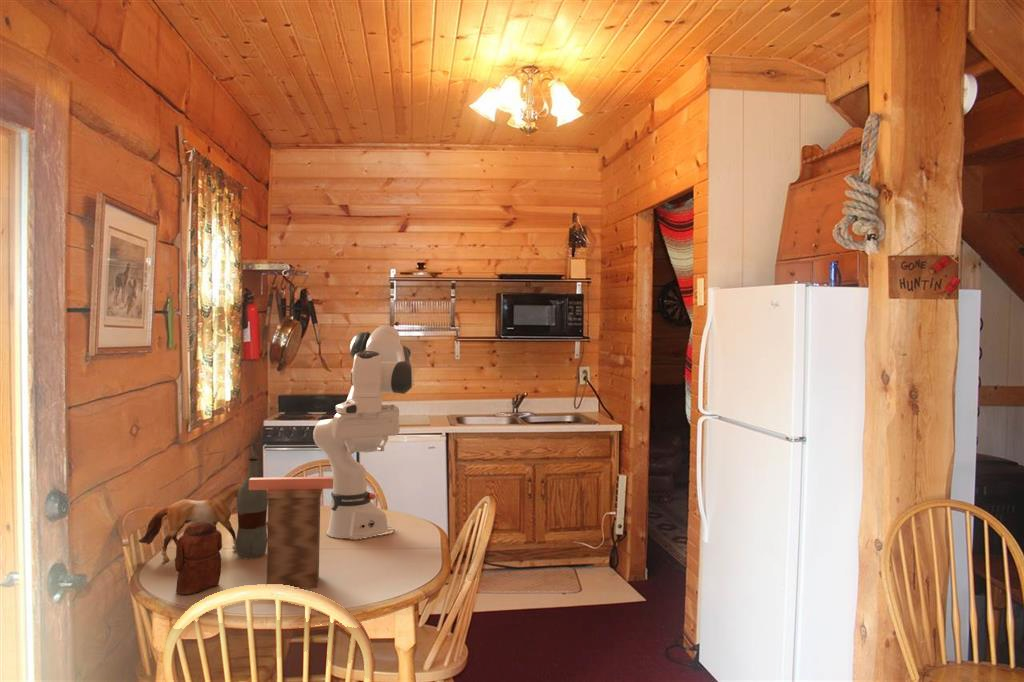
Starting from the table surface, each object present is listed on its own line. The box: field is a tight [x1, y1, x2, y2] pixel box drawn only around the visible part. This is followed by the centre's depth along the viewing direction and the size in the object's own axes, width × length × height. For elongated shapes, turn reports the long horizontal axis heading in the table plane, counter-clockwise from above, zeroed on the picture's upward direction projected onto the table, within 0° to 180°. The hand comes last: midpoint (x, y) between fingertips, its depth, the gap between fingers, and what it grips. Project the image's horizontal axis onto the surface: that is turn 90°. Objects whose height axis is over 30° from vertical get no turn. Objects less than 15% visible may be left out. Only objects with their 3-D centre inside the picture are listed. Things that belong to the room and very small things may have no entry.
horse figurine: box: [138, 482, 244, 562], centre depth 227 cm, size 31×8×21 cm, turn 123°
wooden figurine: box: [174, 520, 223, 595], centre depth 198 cm, size 12×6×18 cm, turn 152°
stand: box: [266, 489, 324, 589], centre depth 204 cm, size 14×10×26 cm
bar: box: [249, 476, 333, 490], centre depth 204 cm, size 22×3×3 cm, turn 101°
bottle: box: [236, 455, 268, 560], centre depth 228 cm, size 9×9×30 cm
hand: (365, 452), depth 223 cm, fingers open, 8 cm apart
